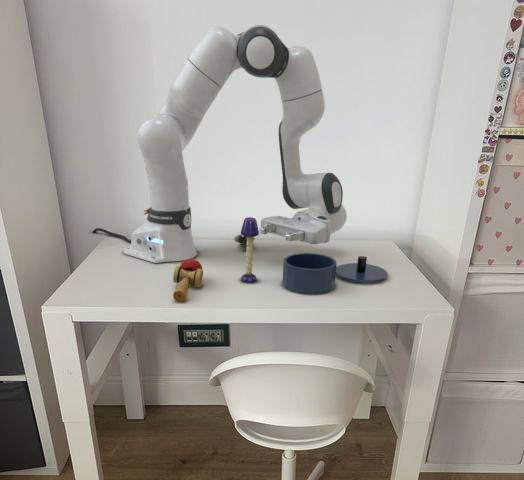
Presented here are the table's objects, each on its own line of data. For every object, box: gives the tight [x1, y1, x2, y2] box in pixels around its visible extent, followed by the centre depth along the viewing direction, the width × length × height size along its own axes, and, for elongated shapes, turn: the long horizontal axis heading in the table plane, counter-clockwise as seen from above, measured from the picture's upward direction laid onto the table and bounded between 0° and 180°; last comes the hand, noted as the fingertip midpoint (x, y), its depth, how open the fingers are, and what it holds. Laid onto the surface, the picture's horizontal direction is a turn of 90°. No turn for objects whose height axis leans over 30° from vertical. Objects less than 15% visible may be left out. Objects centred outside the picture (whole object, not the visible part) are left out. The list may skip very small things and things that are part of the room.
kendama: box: [172, 258, 204, 303], centre depth 126 cm, size 8×6×18 cm
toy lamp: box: [240, 216, 260, 284], centre depth 130 cm, size 5×5×17 cm
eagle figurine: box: [234, 233, 257, 252], centre depth 159 cm, size 8×7×9 cm
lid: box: [336, 255, 389, 284], centre depth 138 cm, size 15×15×5 cm
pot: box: [282, 252, 338, 295], centre depth 130 cm, size 14×14×6 cm
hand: (274, 234), depth 135 cm, fingers open, 8 cm apart
